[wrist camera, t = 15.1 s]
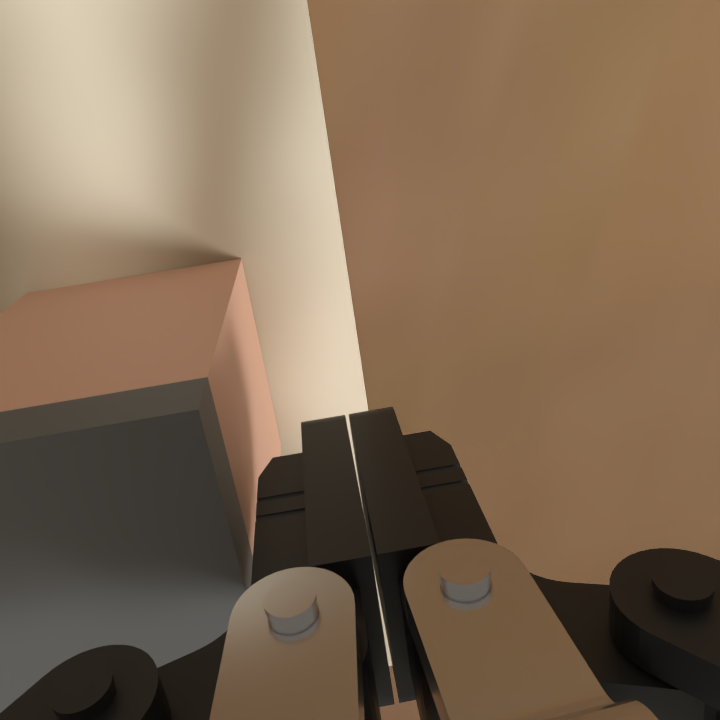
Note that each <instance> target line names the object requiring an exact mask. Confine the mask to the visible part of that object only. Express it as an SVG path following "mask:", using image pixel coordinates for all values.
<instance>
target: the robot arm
mask: <svg viewBox="0 0 720 720" xmlns="http://www.w3.org/2000/svg"><path fill="white" fill-rule="evenodd" d="M349 421H350V428H351V434H352V441H353V447H354V454H355V460H356V467H357V473H358V480H359V486H360V491H359V486H358V481H357V475H356V470H355V465H354V459H353V454H352V449H351V444H350V438H349V433H348V428H347V422H346V417H345V415H341V416H335V417H329V418H323V419H317V420H311V421H304V422H301V436H302V453H297V454H291V455H285V456H279V457H273V458H272V459H271V461H270V462H269V463H268V465H267V466H266V468H265V469H264V470H263V472H262V473H261V474H260V476H259V477H258V488H257V503H256V521H255V533H254V548H253V562H252V577H251V587H249V588H248V589H247V590H246V591H245V592H244V593H243V594H242V595H241V597H240V598H239V599H238V601H237V602H236V604H235V606H234V608H233V609H232V613H231V616H230V620H229V625H228V630H227V631H226V632H225V633H223V634H222V635H221V636H220V637H218V638H217V639H216V640H214V641H212V642H211V643H209V644H208V645H206V646H204V647H202V648H200V649H198V650H196V651H194V652H192V653H190V654H187V655H185V656H183V657H181V658H179V659H176V660H174V661H172V662H170V663H167V664H165V665H163V666H161V667H158V668H157V667H156V664H155V662H154V660H153V659H152V658H151V657H150V655H149V654H148V653H146V652H145V651H143V650H142V649H139V648H137V647H134V646H129V645H107V646H101V647H97V648H93V649H90V650H87V651H85V652H82V653H79V654H77V655H75V656H73V657H71V658H69V659H67V660H66V661H64V662H63V663H61V664H59V665H58V666H56V667H55V668H53V669H52V670H51V671H50V672H48V673H47V674H46V675H44V676H43V677H42V678H41V679H40V680H39V681H37V682H36V683H35V684H34V685H33V686H32V687H30V688H29V689H28V690H27V691H26V692H24V693H23V694H22V695H21V696H20V697H19V698H17V699H16V700H15V701H14V702H13V703H12V704H10V705H9V706H8V707H7V708H6V709H5V710H3V711H2V712H1V713H0V720H381V715H380V708H379V707H381V706H387V705H392V704H394V698H393V691H392V685H391V678H390V672H389V665H388V659H387V652H386V646H385V639H384V632H383V626H382V619H381V613H380V606H379V600H378V593H377V587H378V592H379V598H380V603H381V608H382V614H383V619H384V624H385V629H386V635H387V640H388V645H389V651H390V656H391V661H392V666H393V672H394V677H395V682H396V688H397V693H398V698H399V703H401V702H406V701H411V700H416V701H417V706H418V710H419V715H420V719H421V720H720V561H719V560H716V559H714V558H711V557H708V556H705V555H702V554H699V553H696V552H691V551H687V550H680V549H669V548H659V549H649V550H645V551H640V552H637V553H635V554H632V555H630V556H628V557H626V558H625V559H623V560H622V561H621V562H620V563H619V564H617V565H616V567H615V568H614V570H613V571H612V574H611V577H610V585H599V584H584V583H569V582H560V581H554V580H550V579H545V578H542V577H539V576H536V575H534V574H532V573H529V571H528V570H527V568H526V567H525V565H524V564H523V562H522V561H521V560H520V559H519V558H518V557H517V556H516V555H515V554H514V553H513V552H511V551H510V550H508V549H506V548H505V547H503V546H500V545H498V544H497V542H496V540H495V537H494V535H493V533H492V531H491V529H490V527H489V525H488V523H487V521H486V518H485V516H484V514H483V512H482V510H481V508H480V506H479V504H478V502H477V499H476V497H475V495H474V493H473V491H472V489H471V487H470V485H469V484H468V482H467V478H466V476H465V474H464V472H463V470H462V468H460V464H459V461H458V459H457V457H456V455H455V453H454V451H453V449H452V447H451V445H450V444H449V443H447V442H446V441H444V440H443V439H441V438H440V437H438V436H437V435H435V434H434V433H433V432H431V431H426V432H420V433H415V434H409V435H402V432H401V429H400V426H399V423H398V420H397V417H396V414H395V412H394V409H393V407H388V408H382V409H376V410H370V411H364V412H358V413H352V414H349ZM360 493H361V496H360ZM361 499H362V502H361ZM362 505H363V507H362ZM363 511H364V512H363ZM364 517H365V518H364ZM373 566H374V567H373ZM374 571H375V574H374ZM375 577H376V580H375ZM376 582H377V587H376Z"/></svg>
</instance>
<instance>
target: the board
mask: <svg viewBox="0 0 720 720" xmlns="http://www.w3.org/2000/svg"><path fill="white" fill-rule="evenodd" d="M241 258H242V263H243V268H244V273H245V277H246V282H247V287H248V291H249V296H250V301H251V305H252V310H253V315H254V319H255V324H256V329H257V334H258V338H259V343H260V348H261V352H262V357H263V362H264V366H265V371H266V376H267V380H268V385H269V390H270V395H271V399H272V404H273V409H274V413H275V418H276V423H277V427H278V432H279V437H280V441H281V456H285V455H291V454H297V453H302V436H301V422H304V421H311V420H317V419H323V418H329V417H335V416H341V415H345V417H346V422H347V428H348V433H349V438H350V444H351V449H352V454H353V459H354V465H355V470H356V475H357V481H358V486H359V480H358V473H357V467H356V460H355V454H354V447H353V441H352V434H351V428H350V421H349V414H352V413H358V412H364V411H368V406H367V399H366V392H365V386H364V379H363V372H362V366H361V359H360V352H359V346H358V339H357V332H356V326H355V319H354V312H353V306H352V299H351V292H350V285H349V279H348V272H347V265H346V259H345V252H344V245H343V239H342V232H341V225H340V219H339V212H338V205H337V199H336V192H335V185H334V178H333V172H332V165H331V158H330V152H329V145H328V138H327V132H326V125H325V118H324V112H323V105H322V98H321V92H320V85H319V78H318V71H317V65H316V58H315V51H314V45H313V38H312V31H311V25H310V18H309V11H308V5H307V0H0V313H1V312H2V311H4V310H5V309H6V308H8V307H9V306H10V305H12V304H13V303H14V302H16V301H17V300H18V299H19V298H21V297H22V296H23V295H25V294H26V293H31V292H37V291H43V290H49V289H55V288H62V287H68V286H74V285H80V284H86V283H93V282H99V281H105V280H111V279H117V278H124V277H130V276H136V275H142V274H148V273H155V272H161V271H167V270H173V269H179V268H186V267H192V266H198V265H204V264H210V263H217V262H223V261H229V260H235V259H241ZM359 491H360V486H359ZM360 496H361V493H360ZM361 502H362V499H361ZM362 507H363V505H362ZM363 512H364V511H363ZM364 518H365V517H364ZM373 567H374V566H373ZM374 574H375V571H374ZM375 580H376V577H375ZM376 587H377V582H376ZM377 593H378V600H379V606H380V613H381V619H382V626H383V632H384V639H385V646H386V652H387V659H388V665H389V666H392V661H391V656H390V651H389V645H388V640H387V635H386V629H385V624H384V619H383V614H382V608H381V603H380V598H379V592H378V587H377Z"/></svg>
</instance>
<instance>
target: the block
mask: <svg viewBox="0 0 720 720" xmlns="http://www.w3.org/2000/svg"><path fill="white" fill-rule="evenodd" d="M279 456H281V441H280V437H279V432H278V427H277V423H276V418H275V413H274V409H273V404H272V399H271V395H270V390H269V385H268V380H267V376H266V371H265V366H264V362H263V357H262V352H261V348H260V343H259V338H258V334H257V329H256V324H255V319H254V315H253V310H252V305H251V301H250V296H249V291H248V287H247V282H246V277H245V273H244V268H243V263H242V258H241V259H235V260H229V261H223V262H217V263H210V264H204V265H198V266H192V267H186V268H179V269H173V270H167V271H161V272H155V273H148V274H142V275H136V276H130V277H124V278H117V279H111V280H105V281H99V282H93V283H86V284H80V285H74V286H68V287H62V288H55V289H49V290H43V291H37V292H31V293H26V294H25V295H23V296H22V297H21V298H19V299H18V300H17V301H16V302H14V303H13V304H12V305H10V306H9V307H8V308H6V309H5V310H4V311H2V312H1V313H0V713H1V712H2V711H3V710H5V709H6V708H7V707H8V706H9V705H10V704H12V703H13V702H14V701H15V700H16V699H17V698H19V697H20V696H21V695H22V694H23V693H24V692H26V691H27V690H28V689H29V688H30V687H32V686H33V685H34V684H35V683H36V682H37V681H39V680H40V679H41V678H42V677H43V676H44V675H46V674H47V673H48V672H50V671H51V670H52V669H53V668H55V667H56V666H58V665H59V664H61V663H63V662H64V661H66V660H67V659H69V658H71V657H73V656H75V655H77V654H79V653H82V652H85V651H87V650H90V649H93V648H97V647H101V646H107V645H129V646H134V647H137V648H139V649H142V650H143V651H145V652H146V653H148V654H149V655H150V657H151V658H152V659H153V660H154V662H155V664H156V667H157V668H158V667H161V666H163V665H165V664H167V663H170V662H172V661H174V660H176V659H179V658H181V657H183V656H185V655H187V654H190V653H192V652H194V651H196V650H198V649H200V648H202V647H204V646H206V645H208V644H209V643H211V642H212V641H214V640H216V639H217V638H218V637H220V636H221V635H222V634H223V633H225V632H226V631H227V630H228V625H229V620H230V616H231V613H232V609H233V608H234V606H235V604H236V602H237V601H238V599H239V598H240V597H241V595H242V594H243V593H244V592H245V591H246V590H247V589H248V588H249V587H251V577H252V562H253V548H254V533H255V521H256V503H257V488H258V477H259V476H260V474H261V473H262V472H263V470H264V469H265V468H266V466H267V465H268V463H269V462H270V461H271V459H272V458H273V457H279Z"/></svg>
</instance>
